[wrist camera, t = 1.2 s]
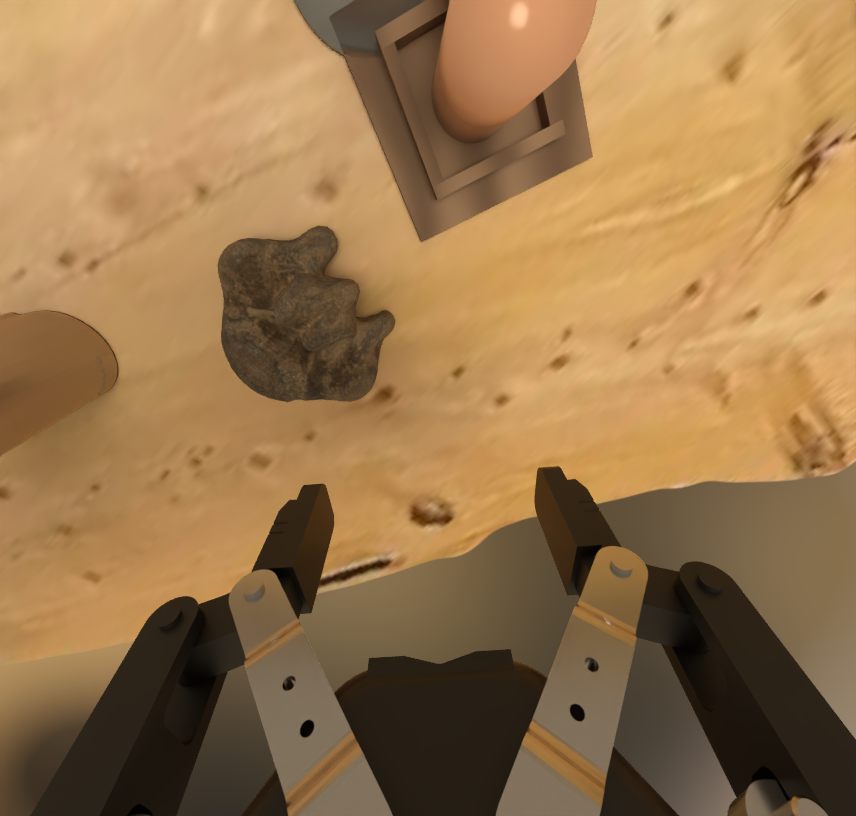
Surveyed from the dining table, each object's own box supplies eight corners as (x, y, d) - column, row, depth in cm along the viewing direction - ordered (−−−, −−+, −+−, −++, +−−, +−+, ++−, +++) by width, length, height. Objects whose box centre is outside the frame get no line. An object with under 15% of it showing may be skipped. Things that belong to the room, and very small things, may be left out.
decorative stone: (157, 315, 30) (242, 197, 21) (245, 271, 38) (331, 174, 30) (294, 446, 36) (404, 395, 27) (345, 384, 44) (441, 330, 36)
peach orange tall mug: (523, 119, 29) (609, 52, 17) (450, 158, 30) (481, 121, 18) (485, -35, 25) (563, -274, 13) (401, 16, 26) (399, -161, 14)
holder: (421, 241, 34) (422, 243, 31) (329, 20, 26) (323, 3, 24) (589, 157, 31) (602, 153, 29) (541, -112, 24) (554, -143, 22)
